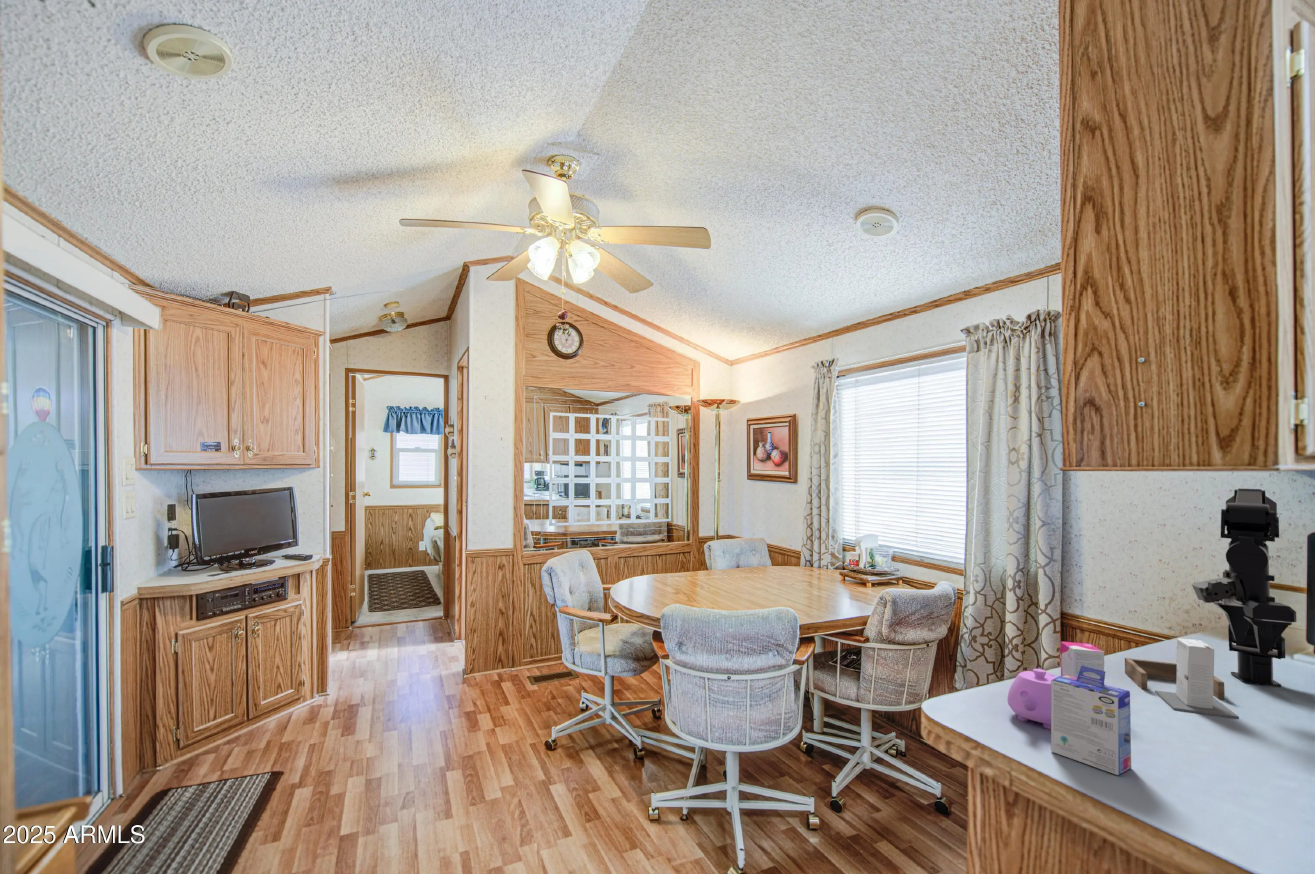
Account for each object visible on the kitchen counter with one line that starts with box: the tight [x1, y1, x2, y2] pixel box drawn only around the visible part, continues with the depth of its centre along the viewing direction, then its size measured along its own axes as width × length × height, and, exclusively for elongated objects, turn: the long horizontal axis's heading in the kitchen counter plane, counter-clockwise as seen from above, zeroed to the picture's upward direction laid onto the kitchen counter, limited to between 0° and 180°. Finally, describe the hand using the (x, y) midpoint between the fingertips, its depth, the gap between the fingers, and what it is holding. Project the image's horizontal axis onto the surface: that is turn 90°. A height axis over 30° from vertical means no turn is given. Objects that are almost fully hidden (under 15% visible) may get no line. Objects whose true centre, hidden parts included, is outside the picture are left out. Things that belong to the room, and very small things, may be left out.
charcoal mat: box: [1154, 690, 1240, 719], centre depth 123 cm, size 10×10×1 cm
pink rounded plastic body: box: [1006, 668, 1058, 730], centre depth 114 cm, size 10×15×9 cm
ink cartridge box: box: [1050, 666, 1132, 776], centre depth 99 cm, size 10×6×14 cm, turn 36°
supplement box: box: [1060, 641, 1105, 679], centre depth 123 cm, size 6×6×12 cm
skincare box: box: [1175, 637, 1215, 709], centre depth 123 cm, size 6×4×12 cm
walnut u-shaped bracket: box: [1124, 657, 1226, 701], centre depth 133 cm, size 11×14×4 cm
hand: (1250, 647), depth 120 cm, fingers open, 9 cm apart
